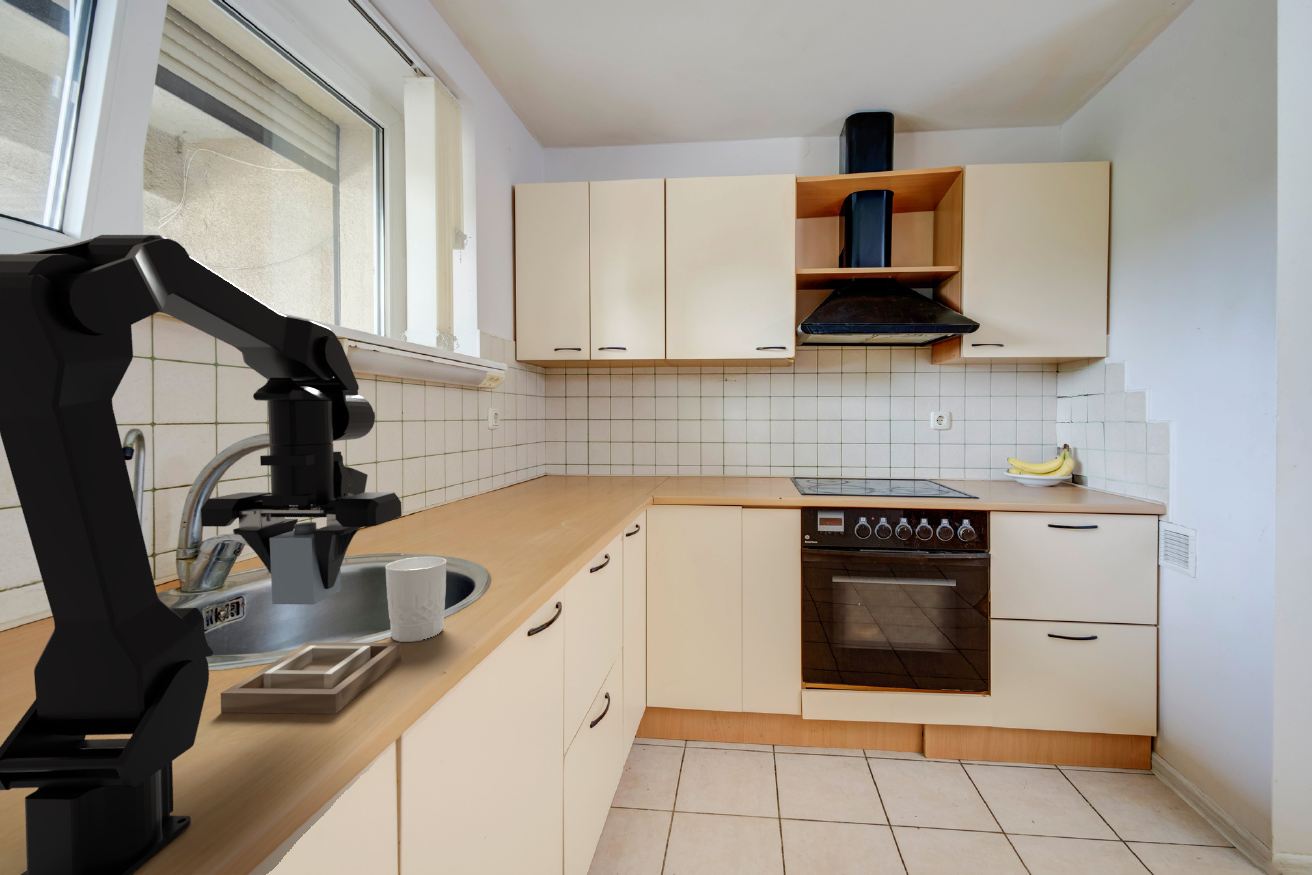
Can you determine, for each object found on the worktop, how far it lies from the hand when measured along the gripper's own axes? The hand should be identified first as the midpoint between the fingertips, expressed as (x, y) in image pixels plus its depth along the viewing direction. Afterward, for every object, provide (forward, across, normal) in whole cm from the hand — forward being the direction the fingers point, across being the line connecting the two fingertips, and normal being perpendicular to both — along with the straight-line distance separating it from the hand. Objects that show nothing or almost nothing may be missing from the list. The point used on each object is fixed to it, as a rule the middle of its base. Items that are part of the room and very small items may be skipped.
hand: (307, 587), depth 58 cm
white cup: (+12, -3, -17) cm, 22 cm away
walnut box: (+12, +1, -2) cm, 12 cm away
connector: (+1, 0, 0) cm, 1 cm away
